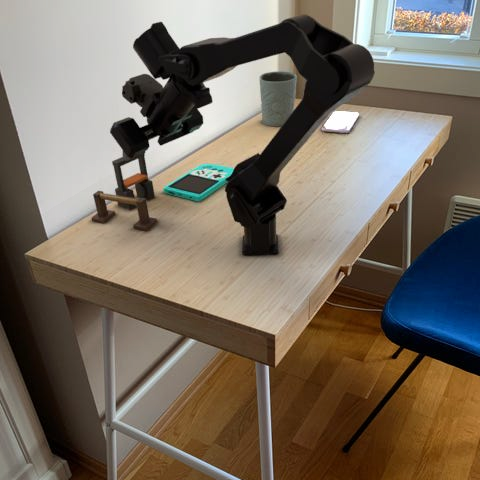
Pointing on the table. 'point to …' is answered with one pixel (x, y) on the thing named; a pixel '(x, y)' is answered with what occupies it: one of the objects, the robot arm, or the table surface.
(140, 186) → the arch frame with shelf
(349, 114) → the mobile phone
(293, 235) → the table surface
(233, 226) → the table surface
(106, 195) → the wooden parallette bar
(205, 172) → the handheld game console
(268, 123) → the grey green embossed cup
